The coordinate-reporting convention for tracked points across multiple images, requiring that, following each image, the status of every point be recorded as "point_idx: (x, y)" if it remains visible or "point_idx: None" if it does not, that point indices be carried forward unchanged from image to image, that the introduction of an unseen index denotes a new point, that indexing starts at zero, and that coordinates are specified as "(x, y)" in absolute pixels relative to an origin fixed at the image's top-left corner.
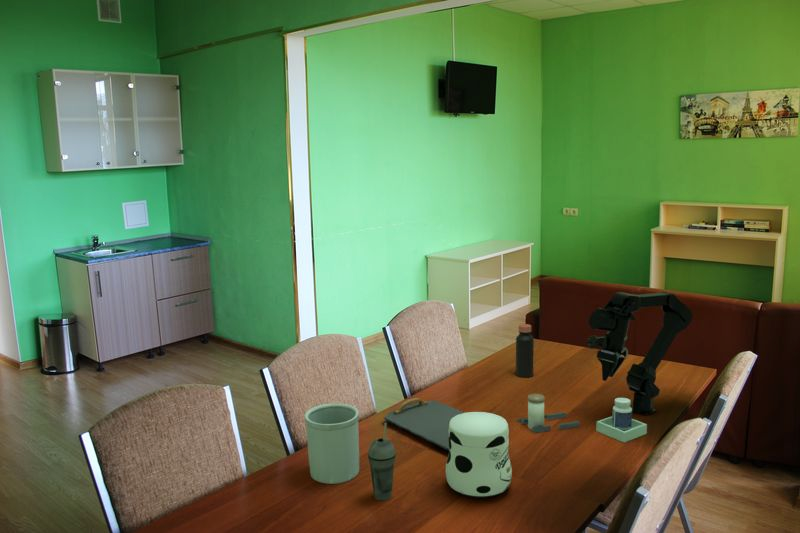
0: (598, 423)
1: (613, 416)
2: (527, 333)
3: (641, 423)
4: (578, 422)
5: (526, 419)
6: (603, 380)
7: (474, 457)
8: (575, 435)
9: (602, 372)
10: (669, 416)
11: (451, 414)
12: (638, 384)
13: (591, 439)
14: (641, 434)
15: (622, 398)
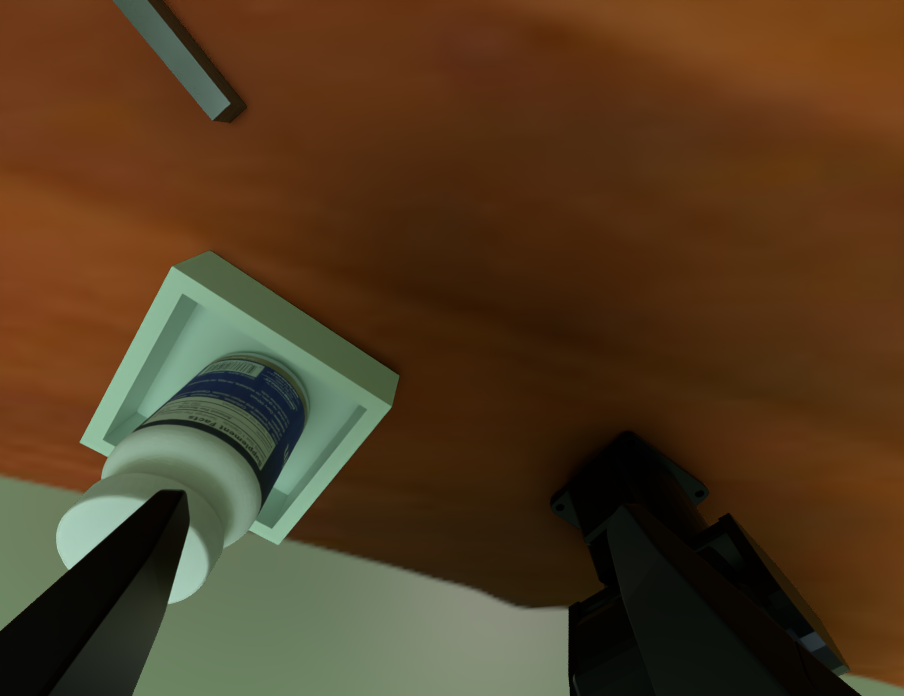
0: (170, 278)
1: (165, 403)
2: None
3: (276, 522)
4: (205, 111)
5: None
6: (166, 496)
7: None
8: (56, 104)
9: (11, 623)
10: (563, 592)
11: None
12: (590, 665)
13: (57, 226)
14: None
15: (182, 553)
